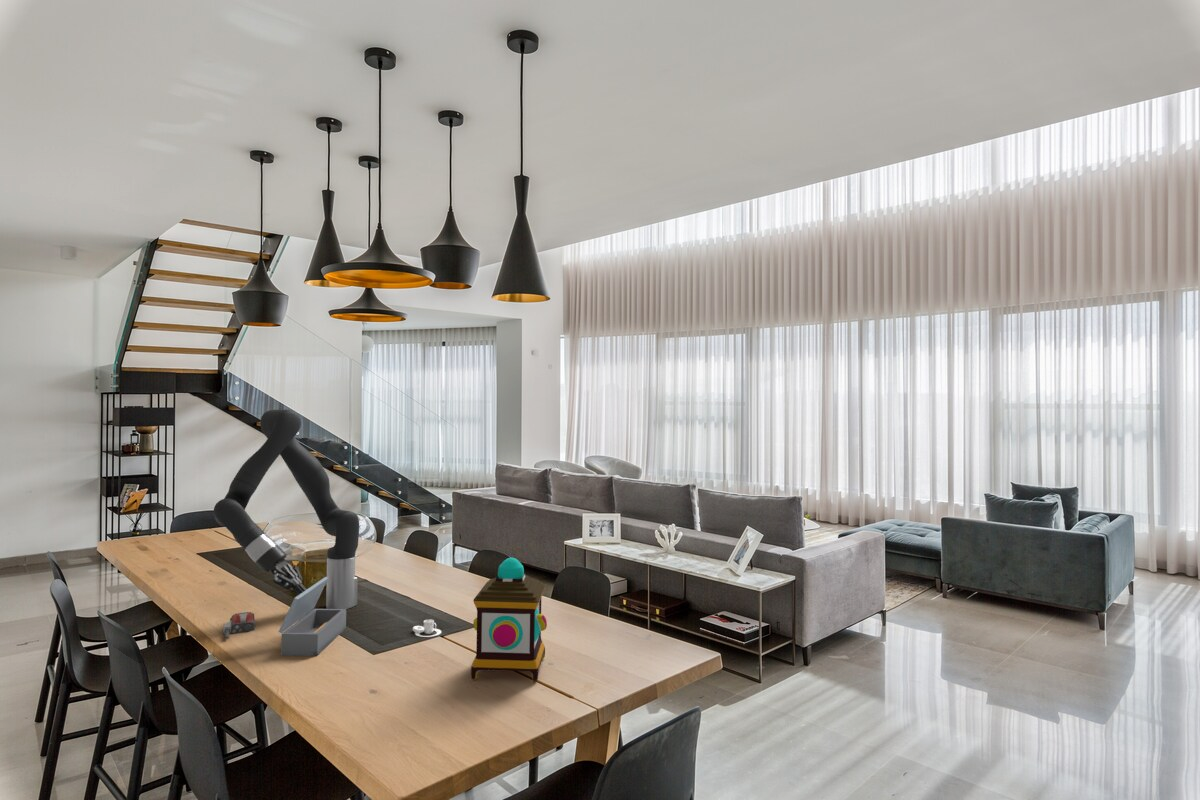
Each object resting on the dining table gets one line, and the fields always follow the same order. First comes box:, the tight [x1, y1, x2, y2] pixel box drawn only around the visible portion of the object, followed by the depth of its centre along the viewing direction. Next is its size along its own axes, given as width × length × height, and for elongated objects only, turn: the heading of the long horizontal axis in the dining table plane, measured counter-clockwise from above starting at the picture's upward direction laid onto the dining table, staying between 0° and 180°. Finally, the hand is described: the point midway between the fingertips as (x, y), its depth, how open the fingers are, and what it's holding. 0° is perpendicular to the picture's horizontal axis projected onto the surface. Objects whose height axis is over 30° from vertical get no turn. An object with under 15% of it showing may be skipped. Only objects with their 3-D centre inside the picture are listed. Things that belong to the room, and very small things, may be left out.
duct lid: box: [278, 576, 328, 634], centre depth 207 cm, size 10×24×1 cm
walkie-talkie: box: [222, 611, 256, 640], centre depth 216 cm, size 9×4×20 cm
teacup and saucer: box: [412, 618, 442, 638], centre depth 216 cm, size 9×8×4 cm
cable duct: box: [280, 608, 347, 657], centre depth 207 cm, size 10×24×6 cm, turn 2°
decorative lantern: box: [470, 557, 548, 683], centre depth 188 cm, size 20×20×30 cm
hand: (306, 595), depth 207 cm, fingers closed
